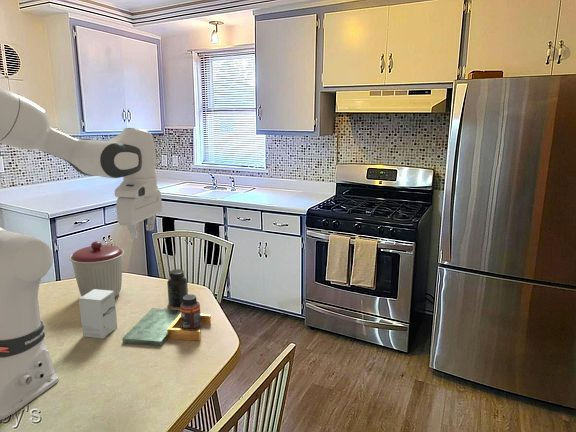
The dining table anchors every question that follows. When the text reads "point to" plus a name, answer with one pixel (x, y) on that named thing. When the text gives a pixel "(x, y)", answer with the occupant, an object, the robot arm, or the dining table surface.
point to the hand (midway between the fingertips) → (142, 234)
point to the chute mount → (162, 328)
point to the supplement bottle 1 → (177, 287)
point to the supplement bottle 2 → (190, 313)
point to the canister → (98, 268)
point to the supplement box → (98, 313)
